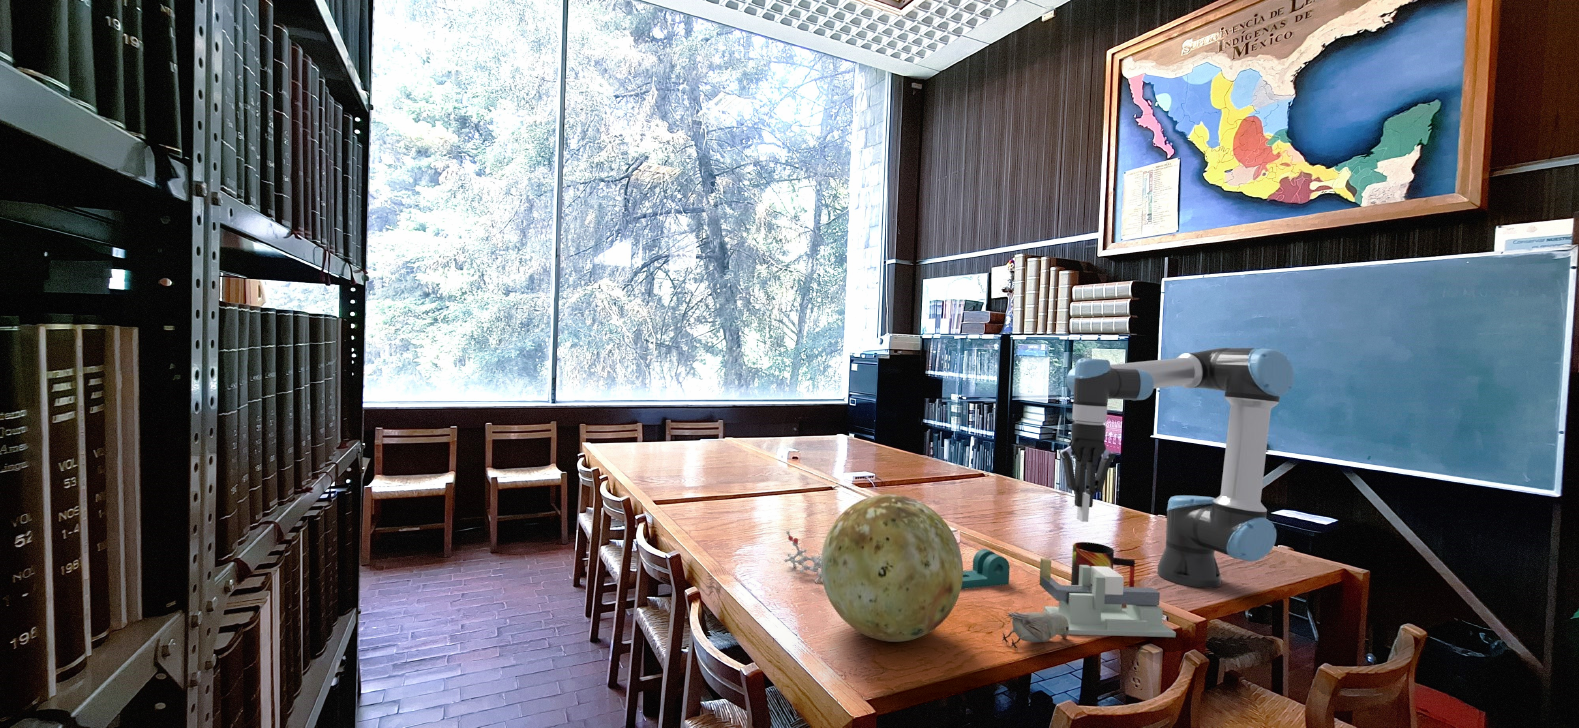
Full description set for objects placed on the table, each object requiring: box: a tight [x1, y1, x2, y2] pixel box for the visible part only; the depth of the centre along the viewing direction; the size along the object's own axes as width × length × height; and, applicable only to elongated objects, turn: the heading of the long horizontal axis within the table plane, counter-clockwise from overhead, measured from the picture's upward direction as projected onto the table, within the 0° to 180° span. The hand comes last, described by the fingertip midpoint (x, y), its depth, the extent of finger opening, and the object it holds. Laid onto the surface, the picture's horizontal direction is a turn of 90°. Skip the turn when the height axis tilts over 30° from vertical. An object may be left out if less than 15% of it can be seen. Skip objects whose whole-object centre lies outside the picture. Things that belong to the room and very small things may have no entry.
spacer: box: [1091, 566, 1125, 595], centre depth 151 cm, size 4×7×4 cm, turn 1°
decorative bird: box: [1002, 611, 1069, 652], centre depth 140 cm, size 5×16×8 cm, turn 111°
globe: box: [820, 494, 964, 643], centre depth 141 cm, size 30×30×30 cm
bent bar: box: [1039, 557, 1161, 607], centre depth 155 cm, size 24×10×7 cm, turn 91°
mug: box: [1070, 541, 1136, 587], centre depth 170 cm, size 10×14×12 cm
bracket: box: [961, 548, 1010, 590], centre depth 175 cm, size 18×7×8 cm, turn 108°
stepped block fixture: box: [1043, 565, 1177, 638], centre depth 151 cm, size 24×13×12 cm, turn 91°
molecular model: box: [784, 530, 822, 583], centre depth 177 cm, size 19×10×10 cm, turn 26°
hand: (1082, 520), depth 159 cm, fingers closed
